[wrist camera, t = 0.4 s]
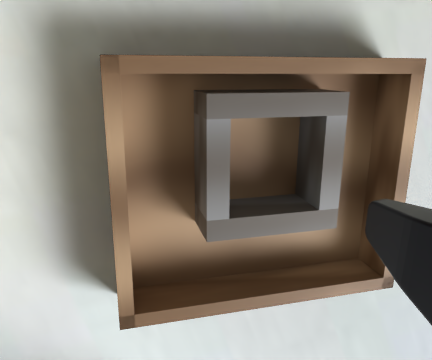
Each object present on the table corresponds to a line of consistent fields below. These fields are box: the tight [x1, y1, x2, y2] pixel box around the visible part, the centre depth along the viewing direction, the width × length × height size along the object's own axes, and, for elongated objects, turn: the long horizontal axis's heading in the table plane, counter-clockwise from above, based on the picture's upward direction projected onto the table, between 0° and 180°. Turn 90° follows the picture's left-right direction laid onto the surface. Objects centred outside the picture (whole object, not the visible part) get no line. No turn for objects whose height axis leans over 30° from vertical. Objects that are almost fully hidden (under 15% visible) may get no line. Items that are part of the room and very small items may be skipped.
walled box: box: [100, 55, 426, 330], centre depth 23 cm, size 14×17×4 cm
